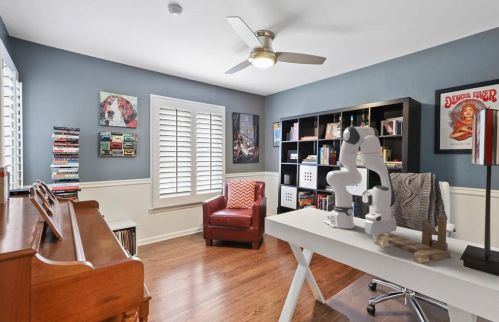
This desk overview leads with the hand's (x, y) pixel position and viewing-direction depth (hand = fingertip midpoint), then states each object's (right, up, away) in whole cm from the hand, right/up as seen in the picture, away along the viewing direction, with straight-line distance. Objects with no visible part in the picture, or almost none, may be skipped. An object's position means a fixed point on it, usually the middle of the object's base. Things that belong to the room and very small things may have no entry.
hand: (380, 240), depth 135 cm
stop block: (+8, -3, -20) cm, 22 cm away
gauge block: (0, -3, 0) cm, 3 cm away
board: (+14, -3, -3) cm, 15 cm away
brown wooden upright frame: (+27, -3, -3) cm, 27 cm away
